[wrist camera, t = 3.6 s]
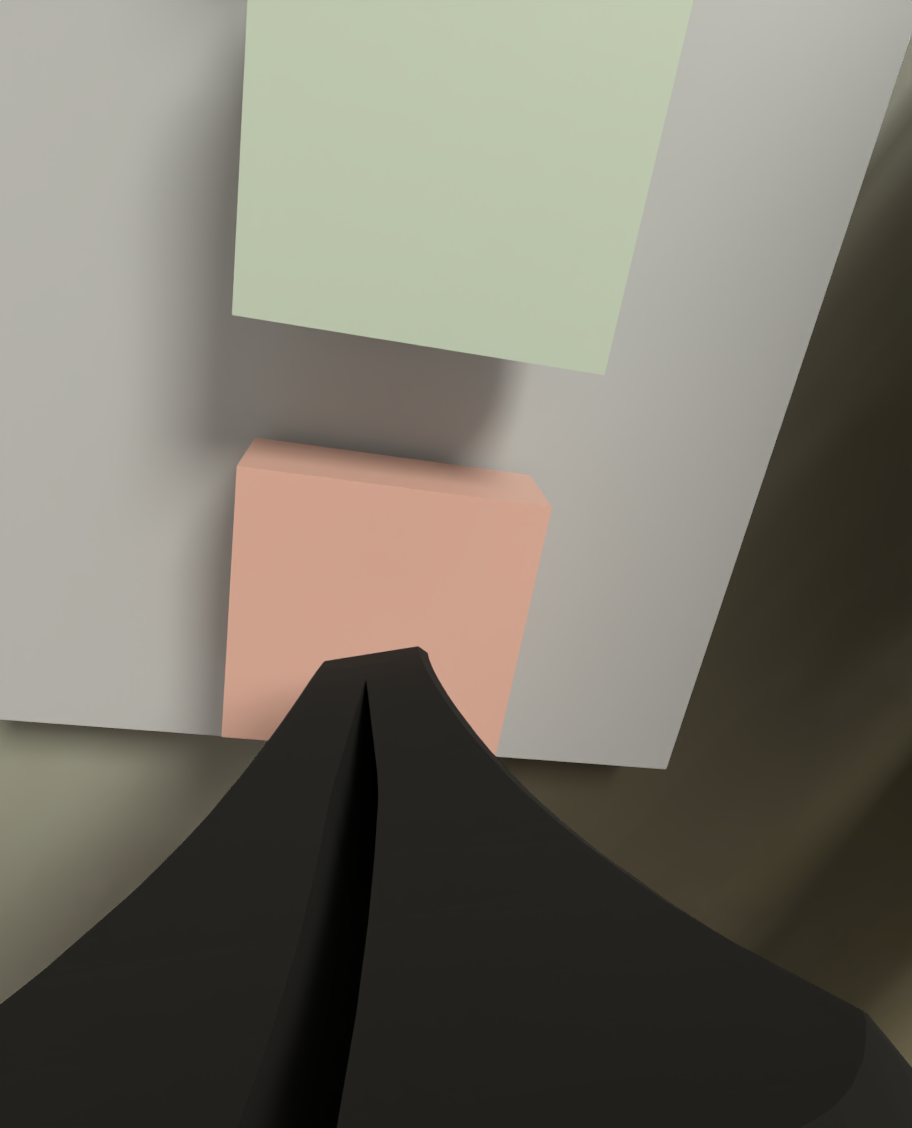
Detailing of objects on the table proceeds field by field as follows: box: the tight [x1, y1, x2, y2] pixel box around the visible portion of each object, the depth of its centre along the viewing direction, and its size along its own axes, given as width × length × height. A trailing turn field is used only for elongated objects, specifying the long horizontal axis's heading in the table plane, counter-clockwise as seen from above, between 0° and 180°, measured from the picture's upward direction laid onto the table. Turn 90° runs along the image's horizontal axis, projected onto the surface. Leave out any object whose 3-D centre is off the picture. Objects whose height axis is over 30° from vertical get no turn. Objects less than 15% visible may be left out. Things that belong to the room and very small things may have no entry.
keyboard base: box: [0, 0, 912, 769], centre depth 12 cm, size 14×22×2 cm, turn 170°
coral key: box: [222, 437, 552, 756], centre depth 14 cm, size 5×5×3 cm
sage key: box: [232, 0, 693, 375], centre depth 10 cm, size 5×5×3 cm
